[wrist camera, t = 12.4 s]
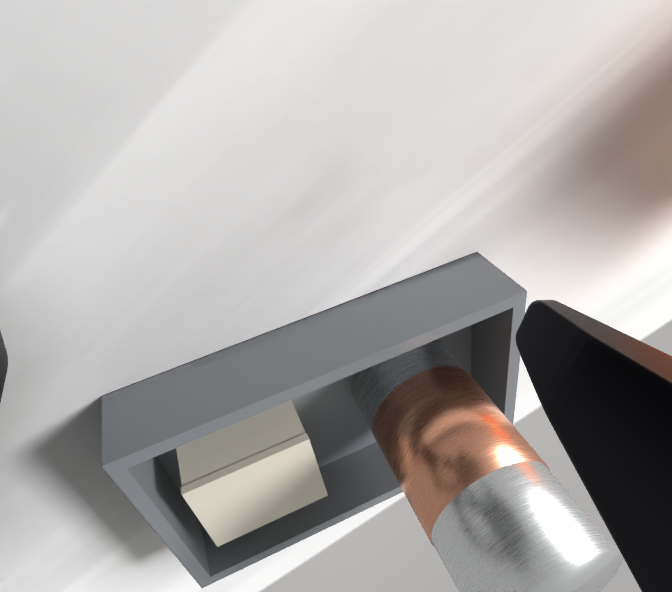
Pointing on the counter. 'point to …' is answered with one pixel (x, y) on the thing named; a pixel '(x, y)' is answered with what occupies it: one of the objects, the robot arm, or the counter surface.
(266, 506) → the cream smooth square block
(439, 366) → the steel tin
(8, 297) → the counter surface
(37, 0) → the counter surface
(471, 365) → the grey rectangular tray
